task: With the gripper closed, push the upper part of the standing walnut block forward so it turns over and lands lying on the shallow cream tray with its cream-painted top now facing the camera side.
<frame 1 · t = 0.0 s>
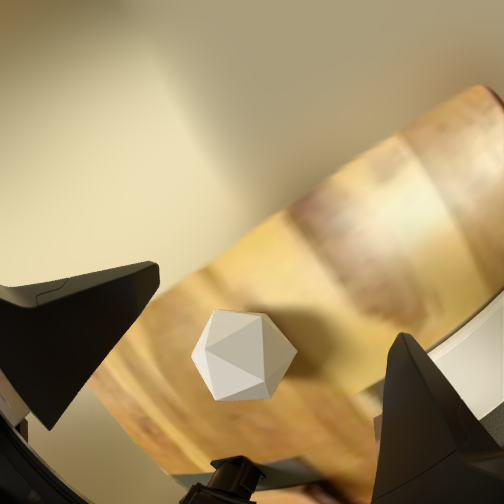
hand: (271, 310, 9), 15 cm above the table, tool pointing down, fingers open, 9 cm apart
die: (254, 336, 27), on the table
shallow cream tray: (470, 381, 20), on the table
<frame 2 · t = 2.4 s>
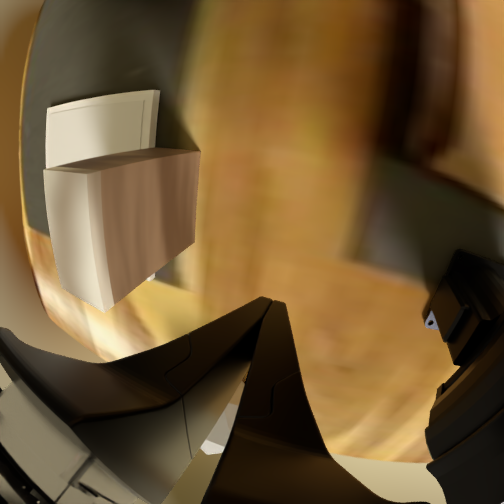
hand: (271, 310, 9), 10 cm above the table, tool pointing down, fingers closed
die: (236, 389, 27), on the table
walnut block: (174, 194, 20), on the table
shallow cream tray: (91, 180, 22), on the table
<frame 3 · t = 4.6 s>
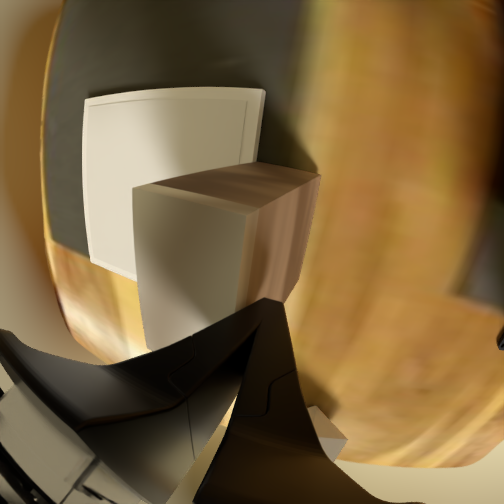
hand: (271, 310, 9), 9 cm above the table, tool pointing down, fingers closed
die: (307, 417, 25), on the table
walnut block: (279, 222, 17), on the table, tilted 6°, touching gripper, shallow cream tray
shallow cream tray: (151, 194, 20), on the table
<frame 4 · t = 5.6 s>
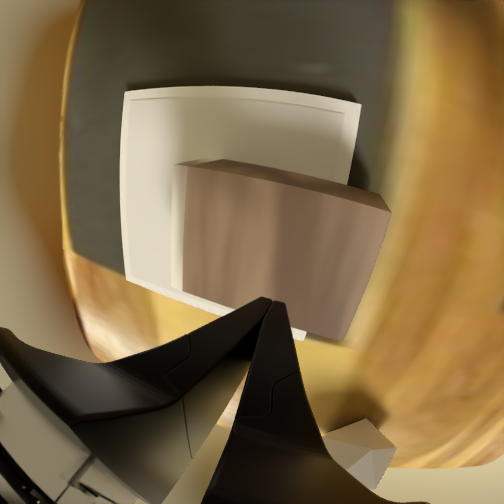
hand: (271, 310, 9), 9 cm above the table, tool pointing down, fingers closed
die: (354, 429, 23), on the table
walnut block: (364, 266, 13), point 3 cm above the table, tilted 90°, touching shallow cream tray
shallow cream tray: (213, 208, 18), on the table
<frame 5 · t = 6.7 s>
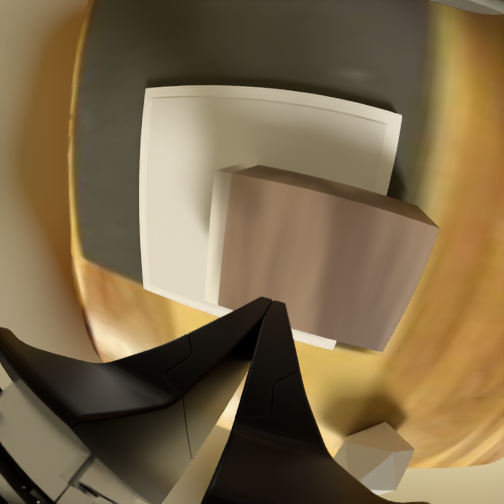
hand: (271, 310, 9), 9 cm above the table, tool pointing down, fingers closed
die: (372, 432, 22), on the table
walnut block: (404, 278, 13), point 3 cm above the table, tilted 90°, touching shallow cream tray
shallow cream tray: (245, 215, 17), on the table
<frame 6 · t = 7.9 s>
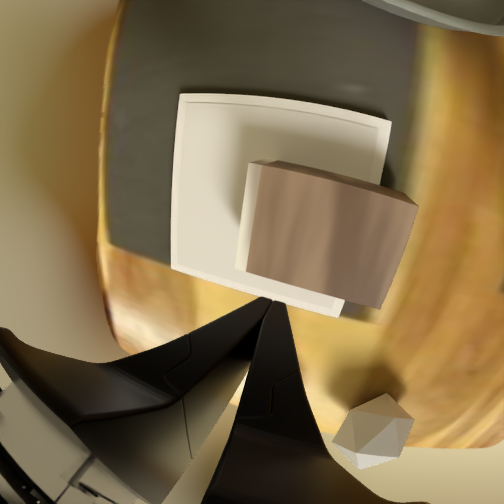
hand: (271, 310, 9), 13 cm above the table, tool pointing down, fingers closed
die: (375, 405, 26), on the table
walnut block: (394, 249, 16), point 3 cm above the table, tilted 90°, touching shallow cream tray
shallow cream tray: (265, 202, 21), on the table
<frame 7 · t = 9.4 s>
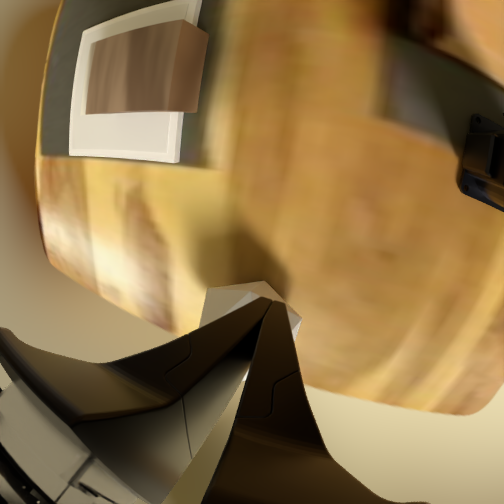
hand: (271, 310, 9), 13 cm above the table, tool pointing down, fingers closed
die: (259, 305, 26), on the table
walnut block: (189, 67, 16), point 3 cm above the table, tilted 90°, touching shallow cream tray
shallow cream tray: (122, 81, 20), on the table
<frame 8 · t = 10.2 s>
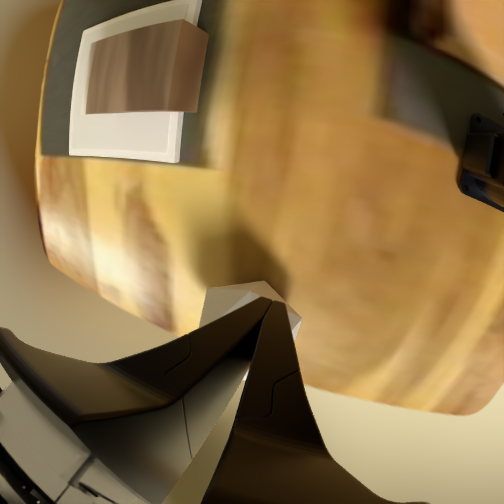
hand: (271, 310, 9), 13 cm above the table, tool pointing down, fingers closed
die: (259, 305, 26), on the table
walnut block: (189, 67, 16), point 3 cm above the table, tilted 90°, touching shallow cream tray
shallow cream tray: (122, 80, 20), on the table
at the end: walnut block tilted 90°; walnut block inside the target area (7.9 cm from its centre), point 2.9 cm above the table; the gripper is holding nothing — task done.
